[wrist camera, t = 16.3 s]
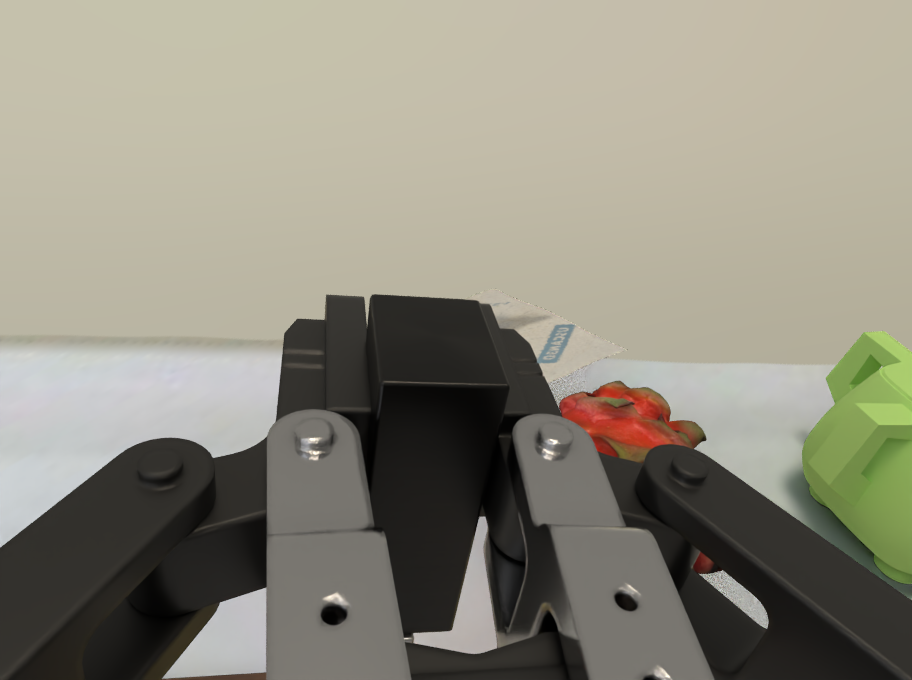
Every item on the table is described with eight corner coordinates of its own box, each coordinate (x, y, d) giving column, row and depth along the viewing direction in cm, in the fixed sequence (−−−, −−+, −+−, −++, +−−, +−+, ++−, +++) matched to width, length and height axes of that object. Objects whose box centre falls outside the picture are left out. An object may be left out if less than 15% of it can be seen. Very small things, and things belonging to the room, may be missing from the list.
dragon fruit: (572, 472, 38) (624, 701, 29) (466, 403, 34) (489, 646, 25) (704, 393, 34) (811, 628, 25) (604, 304, 30) (691, 548, 21)
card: (509, 350, 47) (493, 284, 45) (644, 433, 34) (629, 343, 32) (355, 413, 44) (332, 344, 42) (436, 532, 30) (406, 439, 29)
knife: (395, 728, 18) (478, 295, 11) (404, 839, 16) (513, 390, 9) (328, 734, 18) (369, 288, 11) (327, 848, 16) (379, 387, 9)
